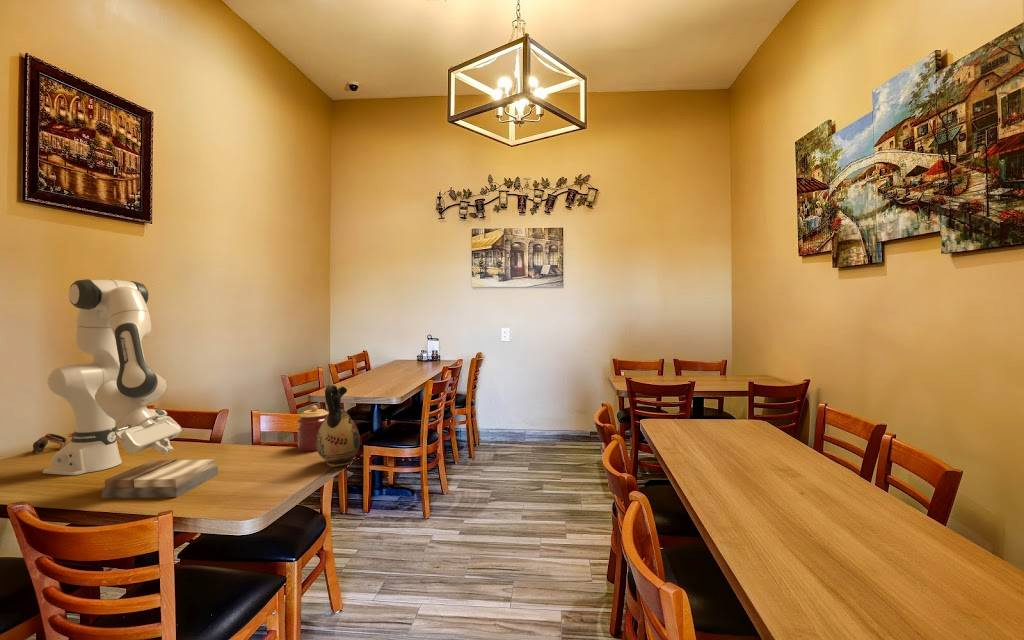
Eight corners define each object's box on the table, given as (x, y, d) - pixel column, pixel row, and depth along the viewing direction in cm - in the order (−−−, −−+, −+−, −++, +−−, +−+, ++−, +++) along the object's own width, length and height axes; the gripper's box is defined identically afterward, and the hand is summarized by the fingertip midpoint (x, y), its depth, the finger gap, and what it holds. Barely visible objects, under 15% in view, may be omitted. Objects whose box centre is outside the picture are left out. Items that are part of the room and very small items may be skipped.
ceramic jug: (329, 456, 181) (328, 380, 181) (367, 457, 180) (365, 380, 179) (305, 471, 164) (304, 387, 164) (347, 472, 163) (345, 387, 162)
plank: (134, 487, 142) (133, 479, 142) (178, 467, 161) (178, 459, 161) (176, 487, 142) (175, 479, 142) (215, 466, 162) (215, 459, 161)
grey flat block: (102, 498, 142) (101, 480, 142) (152, 475, 162) (152, 459, 162) (176, 497, 142) (176, 479, 142) (217, 474, 162) (217, 458, 162)
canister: (326, 441, 203) (325, 401, 203) (335, 447, 193) (334, 405, 193) (294, 446, 195) (293, 405, 195) (302, 453, 185) (301, 410, 185)
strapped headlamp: (39, 450, 196) (52, 432, 199) (62, 459, 197) (75, 440, 200) (18, 451, 185) (32, 431, 187) (42, 460, 186) (56, 440, 189)
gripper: (118, 423, 141) (150, 455, 142) (168, 408, 162) (196, 436, 162) (104, 437, 142) (136, 469, 142) (155, 421, 162) (183, 449, 162)
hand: (168, 451), depth 152 cm, fingers closed
